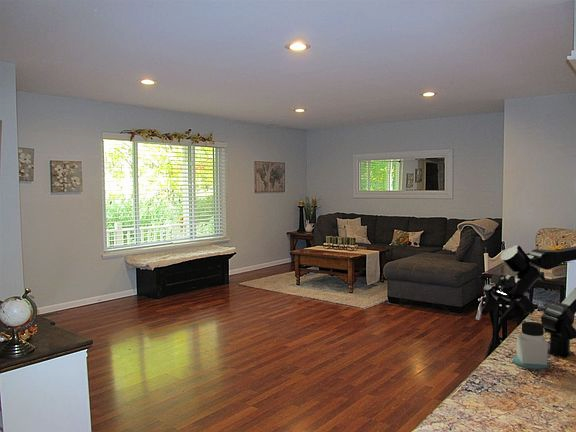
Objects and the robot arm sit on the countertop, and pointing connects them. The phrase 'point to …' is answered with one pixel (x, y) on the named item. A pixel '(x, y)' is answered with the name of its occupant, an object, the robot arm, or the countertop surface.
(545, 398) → the countertop surface
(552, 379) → the countertop surface
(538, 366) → the coaster
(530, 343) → the medicine bottle
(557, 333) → the robot arm
